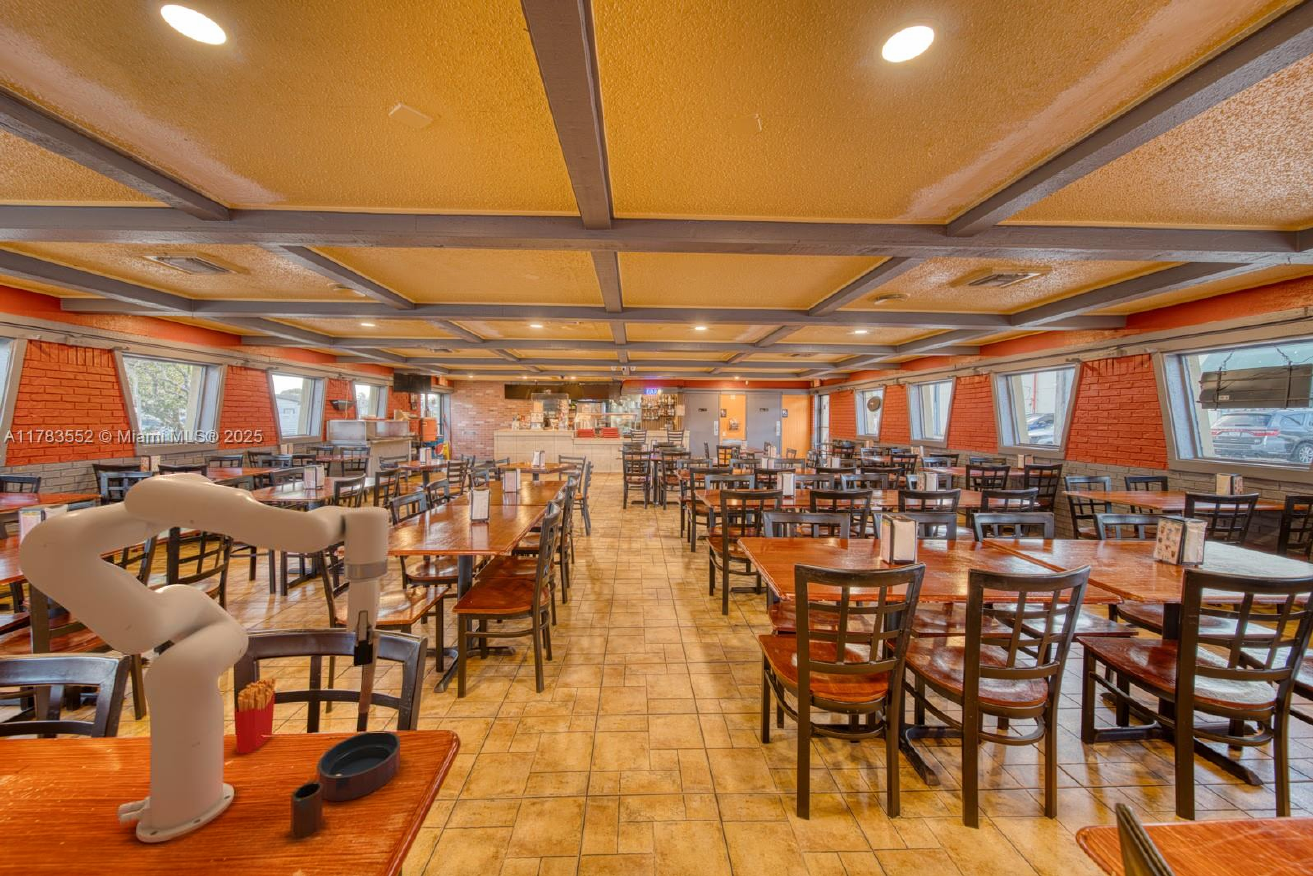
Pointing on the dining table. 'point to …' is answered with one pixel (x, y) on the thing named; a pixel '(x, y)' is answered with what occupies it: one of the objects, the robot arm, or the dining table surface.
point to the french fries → (254, 715)
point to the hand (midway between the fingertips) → (363, 660)
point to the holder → (306, 809)
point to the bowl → (359, 765)
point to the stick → (369, 677)
